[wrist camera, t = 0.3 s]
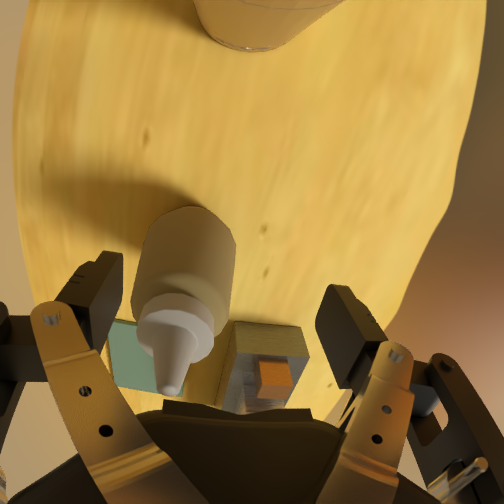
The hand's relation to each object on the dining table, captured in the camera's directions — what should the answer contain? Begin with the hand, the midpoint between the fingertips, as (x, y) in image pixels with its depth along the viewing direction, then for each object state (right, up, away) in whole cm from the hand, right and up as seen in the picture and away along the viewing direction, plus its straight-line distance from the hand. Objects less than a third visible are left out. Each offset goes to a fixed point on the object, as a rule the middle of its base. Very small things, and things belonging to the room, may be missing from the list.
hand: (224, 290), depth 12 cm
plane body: (+1, -15, +28) cm, 32 cm away
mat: (-13, -13, +26) cm, 31 cm away
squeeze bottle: (-5, +3, +18) cm, 19 cm away
